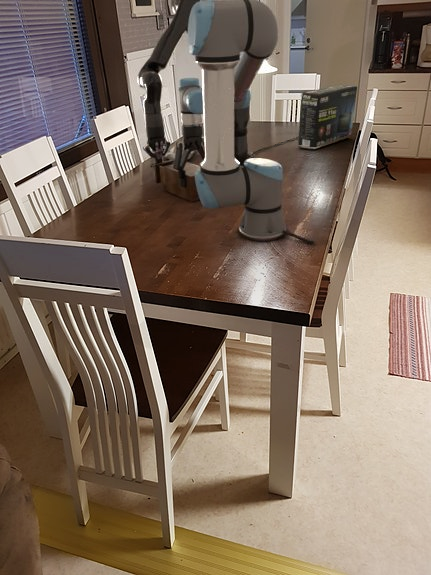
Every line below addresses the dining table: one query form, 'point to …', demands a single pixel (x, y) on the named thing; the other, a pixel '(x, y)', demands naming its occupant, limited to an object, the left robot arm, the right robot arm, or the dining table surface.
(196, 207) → the dining table surface
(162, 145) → the left robot arm
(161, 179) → the dark piece
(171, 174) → the dark wooden box
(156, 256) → the dining table surface
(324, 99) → the router box
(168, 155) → the fossil
